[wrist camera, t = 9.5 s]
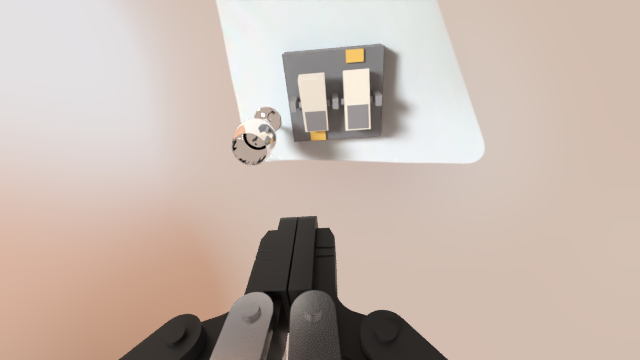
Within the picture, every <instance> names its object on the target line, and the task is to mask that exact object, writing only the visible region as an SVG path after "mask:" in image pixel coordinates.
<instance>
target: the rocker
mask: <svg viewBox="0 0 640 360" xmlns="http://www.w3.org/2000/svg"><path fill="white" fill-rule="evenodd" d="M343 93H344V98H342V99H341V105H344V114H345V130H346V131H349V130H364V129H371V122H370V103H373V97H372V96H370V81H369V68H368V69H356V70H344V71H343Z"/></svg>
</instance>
